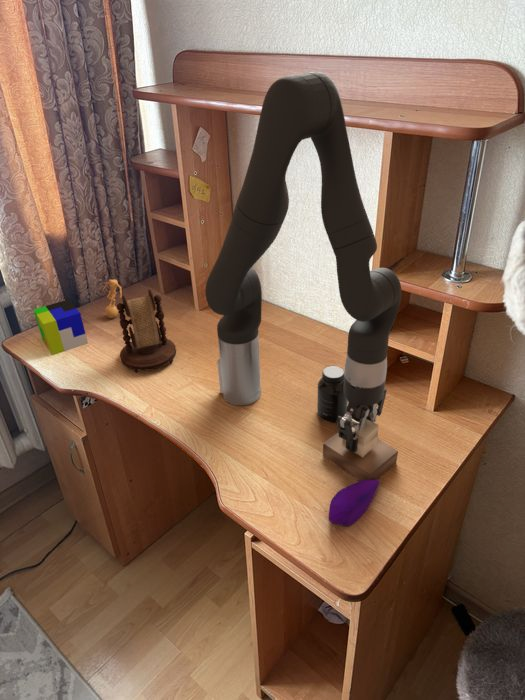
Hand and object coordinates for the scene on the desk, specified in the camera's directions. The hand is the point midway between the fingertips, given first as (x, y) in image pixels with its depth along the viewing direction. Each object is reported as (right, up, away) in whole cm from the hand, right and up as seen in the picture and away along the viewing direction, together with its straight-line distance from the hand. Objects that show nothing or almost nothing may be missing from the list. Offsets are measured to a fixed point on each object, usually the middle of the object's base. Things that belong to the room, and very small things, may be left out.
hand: (359, 442), depth 108 cm
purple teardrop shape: (-2, -11, -7) cm, 13 cm away
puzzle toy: (-76, +21, +46) cm, 91 cm away
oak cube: (0, -1, 0) cm, 1 cm away
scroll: (-50, +16, +37) cm, 64 cm away
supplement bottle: (-3, +4, +16) cm, 17 cm away
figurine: (-65, +29, +58) cm, 91 cm away
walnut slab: (+1, -5, +4) cm, 6 cm away
